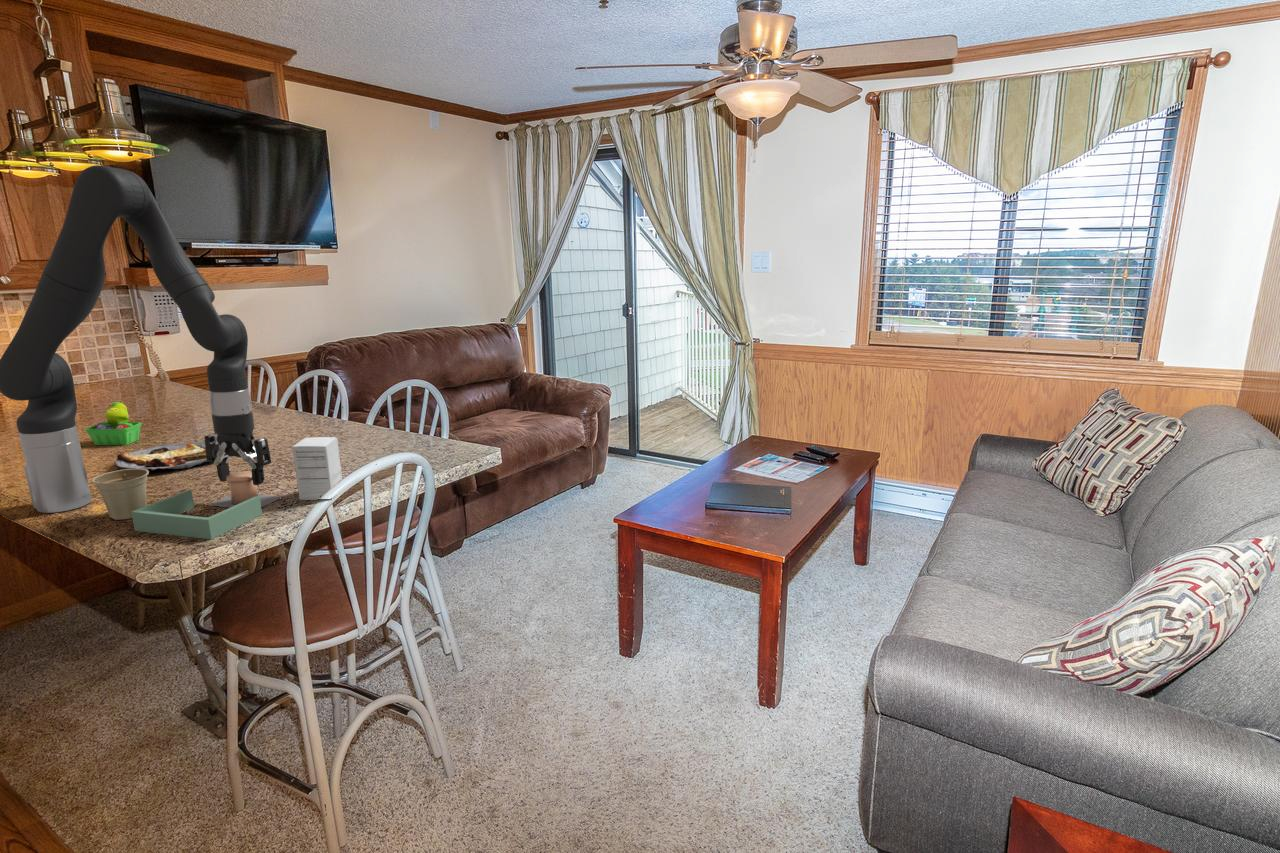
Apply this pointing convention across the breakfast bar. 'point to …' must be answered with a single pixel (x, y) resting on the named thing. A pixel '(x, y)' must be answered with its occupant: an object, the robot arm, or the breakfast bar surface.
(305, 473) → the supplement box
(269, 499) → the slate mat
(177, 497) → the green u-shaped frame
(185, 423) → the breakfast bar surface
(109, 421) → the fruit basket
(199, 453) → the food plate
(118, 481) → the flower pot
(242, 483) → the tan round knob
